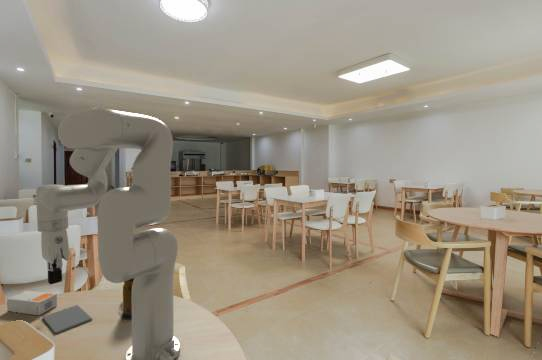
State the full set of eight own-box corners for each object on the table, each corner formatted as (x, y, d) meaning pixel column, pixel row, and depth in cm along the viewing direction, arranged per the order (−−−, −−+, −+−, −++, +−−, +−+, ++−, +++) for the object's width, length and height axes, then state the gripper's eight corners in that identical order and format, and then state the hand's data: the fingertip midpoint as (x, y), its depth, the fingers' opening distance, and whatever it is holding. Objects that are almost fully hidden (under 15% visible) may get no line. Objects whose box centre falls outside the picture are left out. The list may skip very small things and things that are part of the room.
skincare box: (39, 302, 86) (5, 299, 87) (40, 315, 86) (6, 312, 88) (57, 293, 92) (25, 290, 93) (57, 305, 92) (26, 302, 94)
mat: (92, 320, 84) (92, 318, 84) (55, 334, 77) (55, 332, 77) (77, 306, 92) (77, 304, 92) (42, 318, 85) (42, 316, 85)
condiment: (142, 304, 94) (142, 269, 93) (150, 315, 88) (149, 278, 87) (118, 311, 90) (117, 274, 89) (124, 323, 83) (123, 284, 82)
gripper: (76, 226, 85) (77, 285, 86) (59, 219, 94) (61, 272, 96) (45, 230, 79) (47, 293, 81) (31, 222, 88) (33, 279, 90)
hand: (55, 282), depth 88 cm, fingers closed
